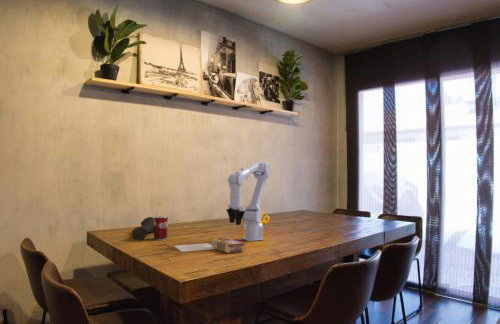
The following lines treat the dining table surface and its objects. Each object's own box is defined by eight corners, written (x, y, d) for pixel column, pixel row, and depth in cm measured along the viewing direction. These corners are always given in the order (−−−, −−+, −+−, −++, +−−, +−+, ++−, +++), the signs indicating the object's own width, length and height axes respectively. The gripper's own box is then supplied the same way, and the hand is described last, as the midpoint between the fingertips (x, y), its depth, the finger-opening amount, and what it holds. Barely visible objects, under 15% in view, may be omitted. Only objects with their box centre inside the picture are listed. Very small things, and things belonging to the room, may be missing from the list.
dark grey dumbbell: (147, 234, 206) (135, 250, 178) (139, 219, 205) (125, 233, 177) (163, 226, 207) (154, 241, 179) (155, 211, 205) (144, 223, 178)
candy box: (211, 247, 164) (227, 253, 151) (211, 238, 164) (227, 243, 151) (227, 246, 169) (244, 251, 156) (227, 237, 169) (244, 242, 156)
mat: (207, 243, 172) (207, 243, 172) (216, 248, 161) (216, 248, 161) (174, 246, 165) (174, 245, 165) (181, 252, 153) (181, 251, 153)
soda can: (170, 238, 185) (170, 216, 186) (162, 240, 178) (163, 217, 179) (158, 237, 188) (159, 215, 188) (150, 239, 181) (151, 217, 181)
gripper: (223, 196, 178) (222, 222, 177) (234, 198, 165) (233, 226, 164) (235, 196, 181) (234, 221, 180) (247, 197, 168) (246, 225, 167)
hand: (235, 223), depth 173 cm, fingers open, 7 cm apart
